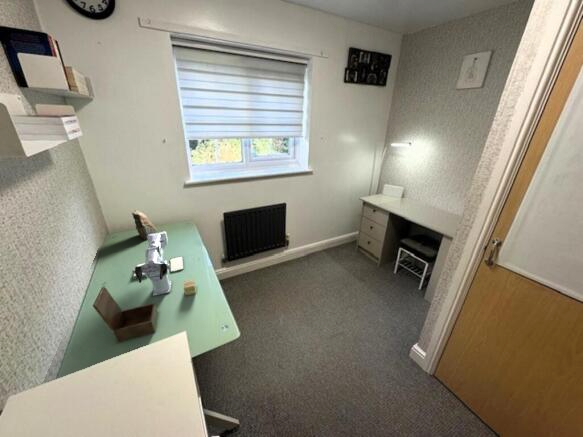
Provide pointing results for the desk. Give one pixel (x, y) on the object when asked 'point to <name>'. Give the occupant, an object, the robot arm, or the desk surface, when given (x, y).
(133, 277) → the hard drive
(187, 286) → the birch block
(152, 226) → the owl
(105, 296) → the box lid
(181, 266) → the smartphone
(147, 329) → the keepsake box
